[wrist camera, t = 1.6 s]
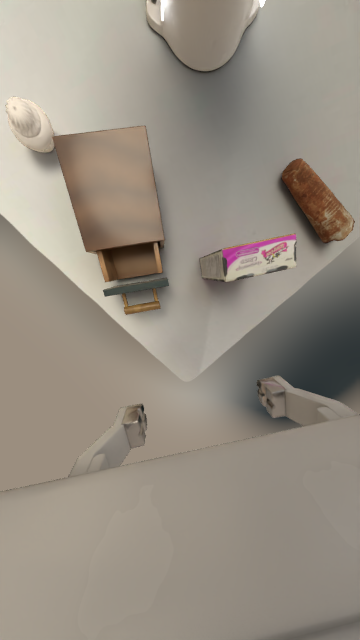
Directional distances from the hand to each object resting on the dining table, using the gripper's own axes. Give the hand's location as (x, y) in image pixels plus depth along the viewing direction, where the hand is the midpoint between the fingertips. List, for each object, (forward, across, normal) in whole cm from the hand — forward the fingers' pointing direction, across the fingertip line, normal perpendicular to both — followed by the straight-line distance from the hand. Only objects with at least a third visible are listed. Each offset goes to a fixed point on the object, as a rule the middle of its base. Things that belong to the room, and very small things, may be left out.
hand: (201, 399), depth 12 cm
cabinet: (+30, +6, -24) cm, 38 cm away
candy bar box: (+31, -13, -10) cm, 35 cm away
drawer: (+29, +7, -13) cm, 33 cm away
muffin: (+29, +18, -37) cm, 50 cm away
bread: (+31, -33, -19) cm, 49 cm away
